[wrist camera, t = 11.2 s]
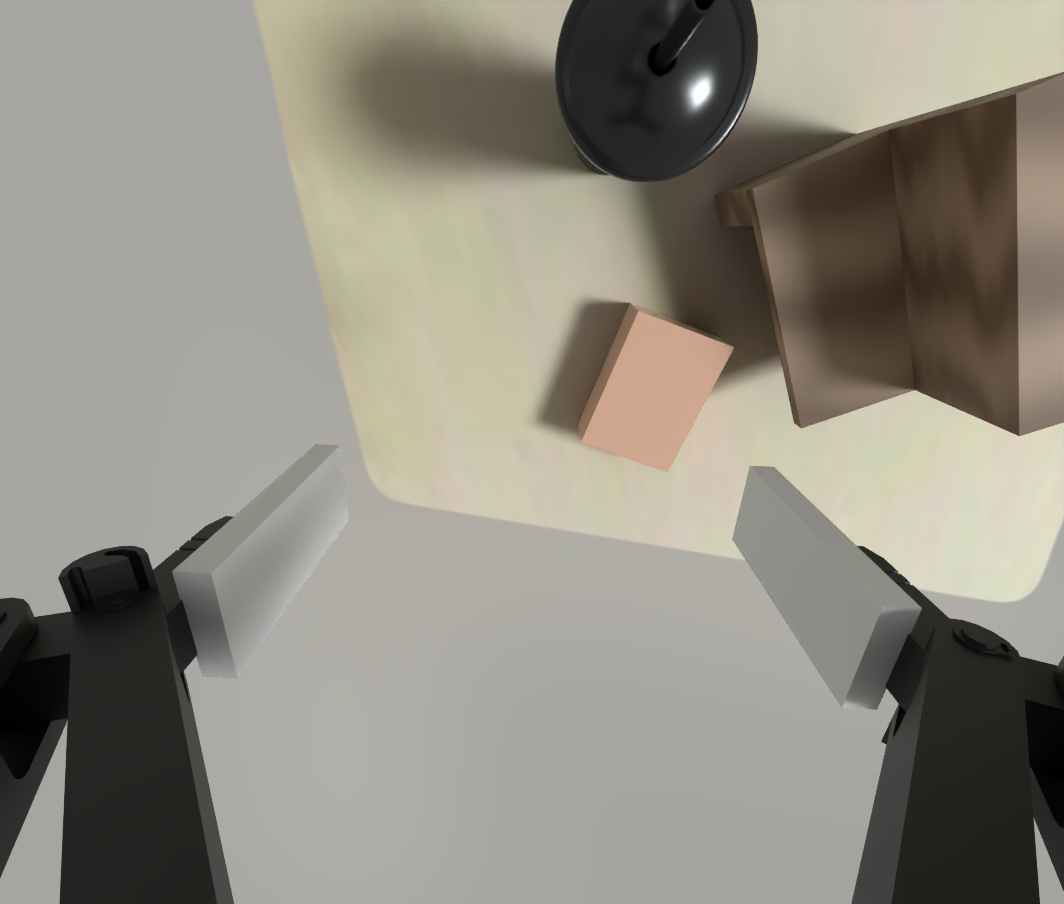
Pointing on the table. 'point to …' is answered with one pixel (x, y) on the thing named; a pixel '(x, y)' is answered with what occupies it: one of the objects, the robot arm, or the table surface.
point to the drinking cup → (653, 82)
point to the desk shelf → (922, 261)
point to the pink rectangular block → (651, 388)
